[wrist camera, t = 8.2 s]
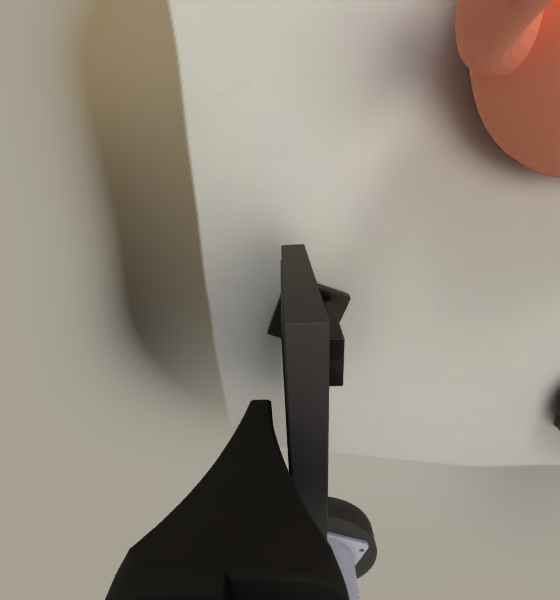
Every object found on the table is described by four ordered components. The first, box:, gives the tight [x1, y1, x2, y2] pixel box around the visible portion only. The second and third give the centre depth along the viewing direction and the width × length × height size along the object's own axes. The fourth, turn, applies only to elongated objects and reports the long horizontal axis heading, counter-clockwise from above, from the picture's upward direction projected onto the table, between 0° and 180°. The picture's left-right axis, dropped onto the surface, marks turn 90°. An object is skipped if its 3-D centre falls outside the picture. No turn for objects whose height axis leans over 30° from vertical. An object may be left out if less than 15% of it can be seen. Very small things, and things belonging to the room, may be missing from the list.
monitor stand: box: [267, 284, 350, 386], centre depth 20 cm, size 5×5×7 cm
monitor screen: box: [281, 244, 330, 540], centre depth 14 cm, size 1×12×9 cm, turn 3°
